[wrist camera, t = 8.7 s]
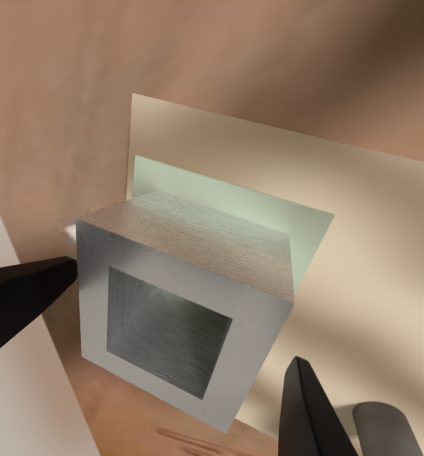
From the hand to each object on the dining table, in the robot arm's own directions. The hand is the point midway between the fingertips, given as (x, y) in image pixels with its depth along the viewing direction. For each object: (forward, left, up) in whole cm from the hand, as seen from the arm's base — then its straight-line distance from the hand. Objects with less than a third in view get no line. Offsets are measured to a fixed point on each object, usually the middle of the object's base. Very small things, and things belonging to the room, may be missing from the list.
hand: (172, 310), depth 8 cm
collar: (0, 0, -3) cm, 3 cm away
